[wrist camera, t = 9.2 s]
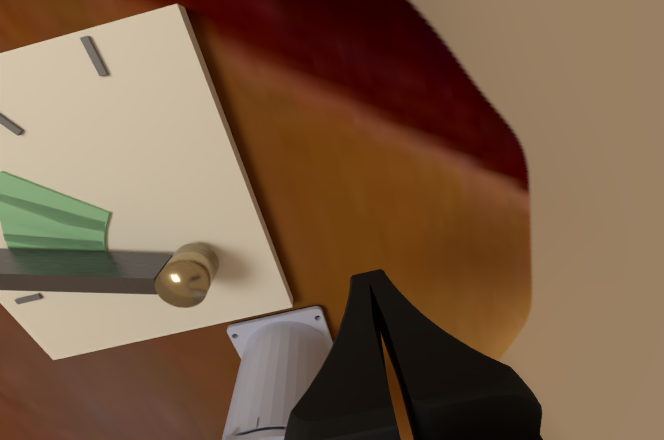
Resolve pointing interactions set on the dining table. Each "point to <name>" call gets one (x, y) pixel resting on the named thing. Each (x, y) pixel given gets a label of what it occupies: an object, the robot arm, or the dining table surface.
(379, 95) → the dining table surface
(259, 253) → the dial plate
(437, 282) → the dining table surface
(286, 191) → the dining table surface
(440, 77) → the dining table surface
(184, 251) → the grey metal bar
